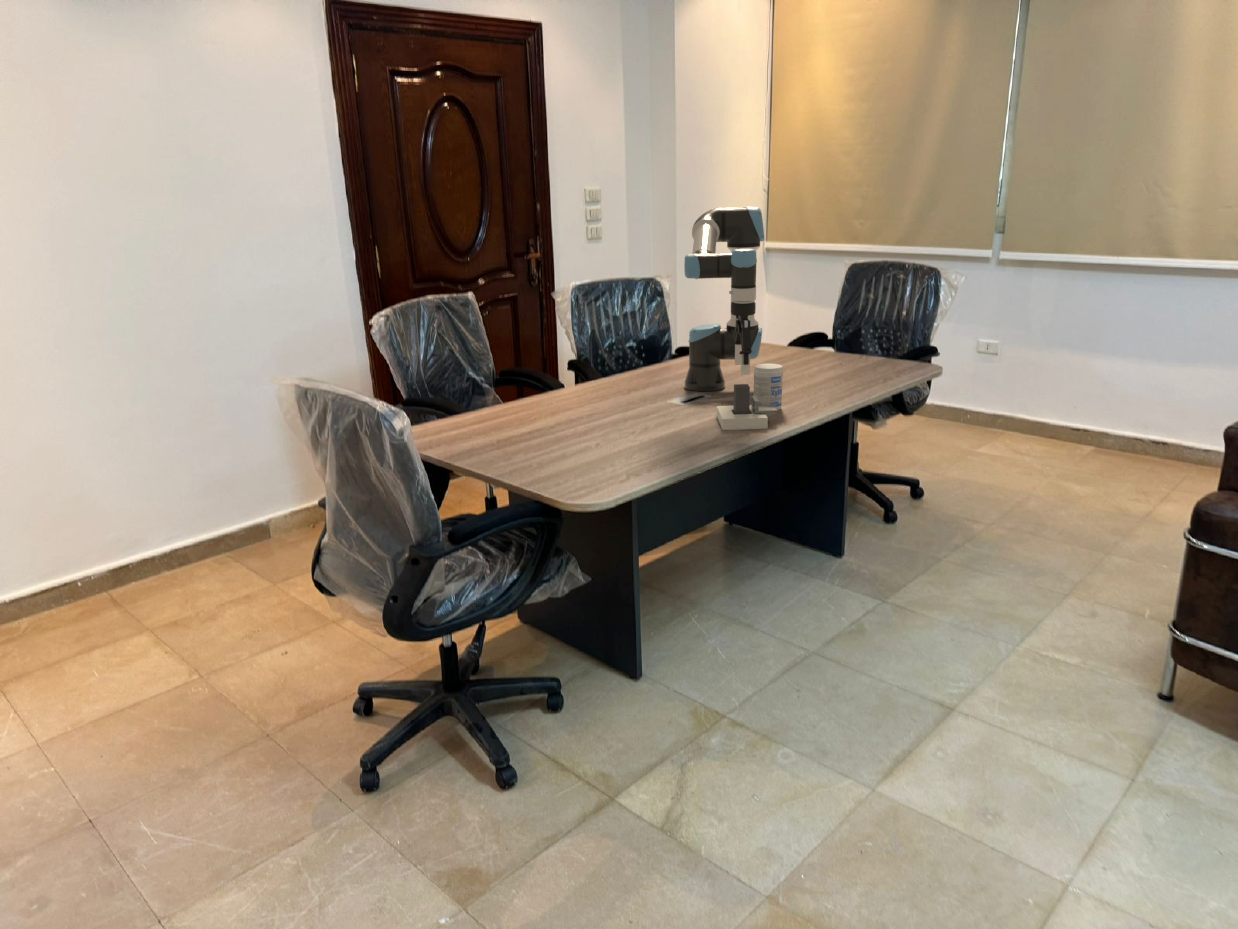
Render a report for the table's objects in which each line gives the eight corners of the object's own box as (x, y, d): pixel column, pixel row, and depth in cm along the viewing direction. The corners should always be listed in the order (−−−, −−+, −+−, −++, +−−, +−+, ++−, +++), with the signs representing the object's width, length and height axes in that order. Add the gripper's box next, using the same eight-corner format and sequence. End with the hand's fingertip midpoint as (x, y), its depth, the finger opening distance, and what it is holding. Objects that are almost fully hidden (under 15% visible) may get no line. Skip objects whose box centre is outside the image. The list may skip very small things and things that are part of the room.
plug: (733, 420, 263) (733, 384, 259) (747, 420, 263) (747, 384, 259) (735, 424, 258) (735, 387, 255) (749, 424, 258) (749, 387, 255)
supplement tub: (776, 413, 269) (777, 369, 265) (748, 410, 274) (749, 367, 269) (785, 406, 277) (786, 364, 272) (759, 403, 282) (759, 362, 277)
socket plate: (716, 416, 268) (716, 406, 267) (759, 415, 268) (759, 404, 267) (722, 430, 253) (722, 419, 252) (767, 428, 253) (767, 417, 252)
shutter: (751, 407, 262) (751, 396, 261) (773, 407, 262) (773, 395, 261) (754, 413, 256) (755, 401, 255) (777, 412, 256) (777, 400, 255)
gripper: (726, 295, 260) (725, 361, 267) (736, 308, 236) (735, 379, 244) (749, 295, 260) (748, 360, 267) (762, 307, 236) (760, 378, 243)
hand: (742, 369), depth 255 cm, fingers open, 13 cm apart
